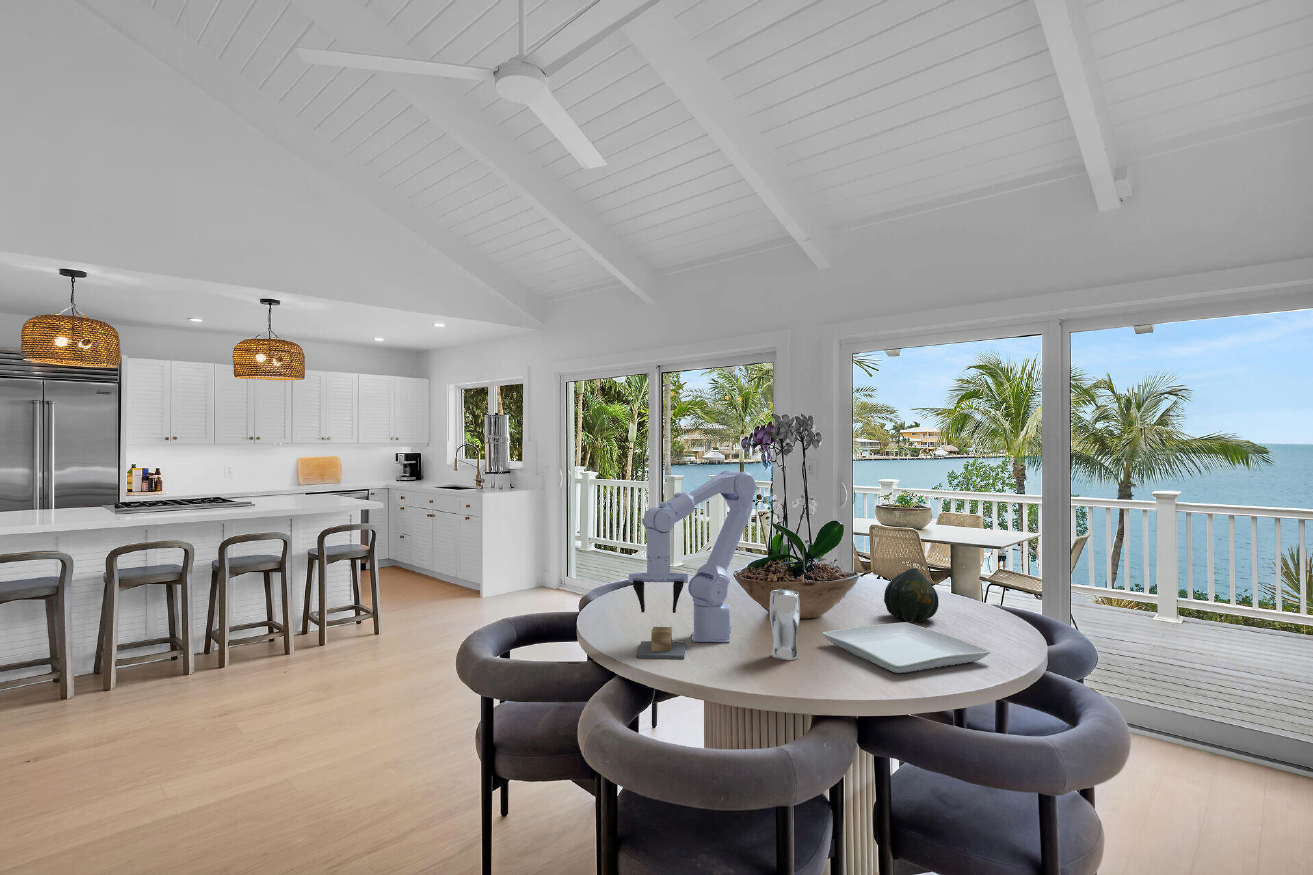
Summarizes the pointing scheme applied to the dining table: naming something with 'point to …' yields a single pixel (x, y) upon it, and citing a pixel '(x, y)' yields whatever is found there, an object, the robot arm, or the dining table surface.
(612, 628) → the dining table surface
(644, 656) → the charcoal mat
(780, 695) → the dining table surface
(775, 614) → the beer glass
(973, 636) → the dining table surface
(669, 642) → the oak cube
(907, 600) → the squash
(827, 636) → the square plate
